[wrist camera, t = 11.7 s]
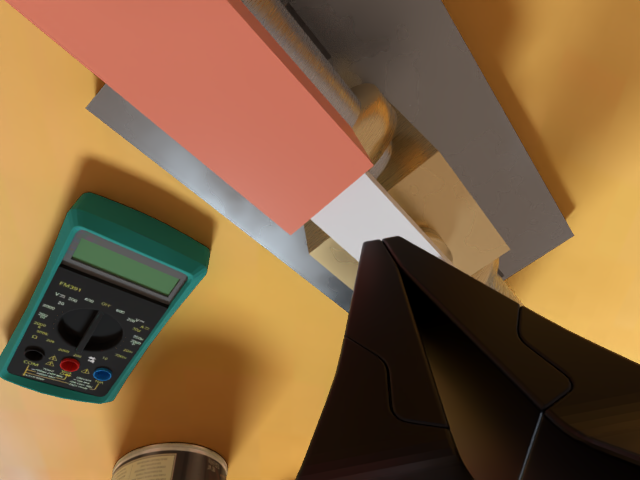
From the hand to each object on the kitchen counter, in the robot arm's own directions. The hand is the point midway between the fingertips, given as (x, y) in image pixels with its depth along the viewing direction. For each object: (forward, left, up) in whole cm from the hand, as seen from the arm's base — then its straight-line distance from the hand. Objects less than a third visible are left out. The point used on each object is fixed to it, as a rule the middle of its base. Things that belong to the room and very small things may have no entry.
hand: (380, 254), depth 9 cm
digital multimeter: (0, +18, -13) cm, 22 cm away
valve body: (-5, 0, -12) cm, 13 cm away
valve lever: (+2, 0, -4) cm, 5 cm away
